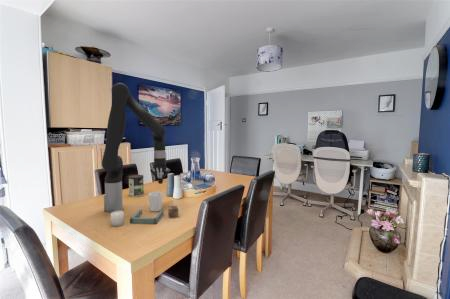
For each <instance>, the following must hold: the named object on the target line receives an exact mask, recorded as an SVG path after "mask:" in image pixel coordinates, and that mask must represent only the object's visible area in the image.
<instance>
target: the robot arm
mask: <svg viewBox="0 0 450 299" xmlns="http://www.w3.org/2000/svg"><path fill="white" fill-rule="evenodd" d="M126 107H127V108H128V109H129V110H130V111H131V112H132V113H133V114H134V115H135V116H136V117H137V119H138V120H139V121H140V122H141V123H142V124H143V125H144V126H146V127H147V128H149V130H151V132H152V138H153V168H151V169H150V170H149V171H150V173H151V174H152V175H153V176H154V177H155V178H156V179H157V183H158V184H159V185H162V184H163V183H164V178H165V177H166V176H167V175H168V174H169V172H170V171H171V169H170V168H168V166H167V153H166V142H165V135H166V133H167V131H166V128H165V127H164V125H162V124H161V123H160V122H159V121H158V120H157V119H155V118H154V116H153V115H152V114H151V113H150V112H149V111H148V110H147V109H146V108H144V106H142V105H141V104H140V103H139V102H138V101H137V100H136V99H135V97H134V96H133V95H132V94H131V92H130V90H129V87H128V86H127V85H126V84H125V83H122V82H117V83H115V84H113V86H112V88H111V106H110V111H109V116H108V120H107V128H106V138H105V144H104V145H105V147H104V151H103V156H102V159H101V166H102V169H103V170H104V171H105V172H106V174H105V177H104V194H103V209H104V211H106V212H107V213H112V212H114V211H122V210H123V208H124V205H123V204H124V202H123V199H124V198H123V175H124V162H123V158H122V157H121V156H120V155H119V149H120V145H121V143H122V141H123V139H124V135H125V129H126Z"/></svg>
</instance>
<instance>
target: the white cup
mask: <svg viewBox="0 0 450 299" xmlns="http://www.w3.org/2000/svg"><path fill="white" fill-rule="evenodd" d="M148 203H149V210H150V211H151V212H160V211H161V210H163V209H162V204H163V192H161V191H152V192H149V193H148Z"/></svg>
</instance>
